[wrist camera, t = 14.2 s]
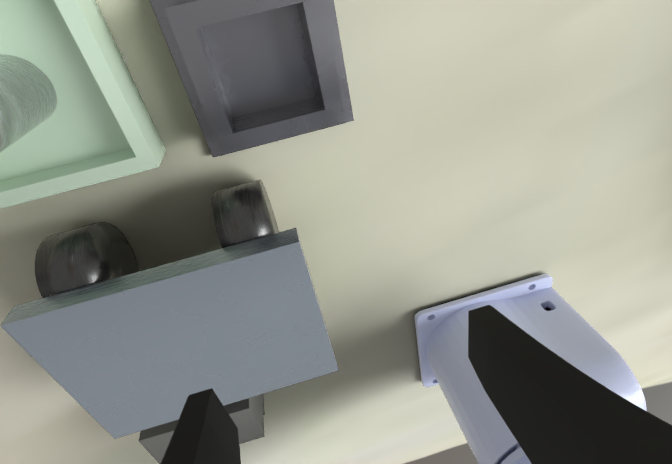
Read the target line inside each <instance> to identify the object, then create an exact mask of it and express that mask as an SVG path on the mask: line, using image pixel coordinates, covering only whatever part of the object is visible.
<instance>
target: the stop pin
mask: <svg viewBox="0 0 672 464" xmlns="http://www.w3.org/2000/svg"><path fill="white" fill-rule="evenodd" d="M56 105H57V96H56V92H55V89H54V86H53V85H52V83H51V81H50V80H49V78H48V77H47V76H46V75H45V73H44V72H43V71H41V70H40V69H39V68H38V67H37V66H35V65H34V64H32V63H31V62H29V61H27V60H25V59H22V58H20V57H17V56H12V55H0V152H2V151H3V150H5V149H6V148H7V147H9V146H10V145H12V144H13V143H14V142H16V141H17V140H19V139H20V138H21V137H23V136H24V135H26V134H27V133H28V132H30V131H31V130H32V129H34V128H35V127H37V126H38V125H39V124H41V123H42V122H44V121H45V120H46V119H48V118H49V117H50V116H51V115H52V114H53V112H54V111H55V108H56Z"/></svg>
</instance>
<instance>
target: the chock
mask: <svg viewBox="0 0 672 464" xmlns="http://www.w3.org/2000/svg"><path fill="white" fill-rule="evenodd" d="M224 408H225V409H226V411H227V412H228V414H229V415H230V417H231V419H232V420H233V422H234V423H235V425H236V426H237V428H238V436H239V444H241V443H244V442H248V441H251V440H254V439H258V438H261V437H264V422H263V415H264V398H263V394H260V395H257V396H254V397H250V398H247V399H244V400H240V401H237V402H234V403H231V404H227V405H224ZM178 420H179V419H178ZM178 420H175V421H172V422H168V423H165V424H162V425H158V426H155V427H152V428H149V429H145V430H142V431H141V433H140V438H139V442H140V443H141V444H142V445H143V446H144V447H145V448H146V450H147V451H148V452H149V453H150V454H151V455H152V456H153V457H154V458H155V459H156V461H157V462H158V463H159V464H160V463H161V461H162V459H163V457H164V454H165V452H166V449H167V447H168V445H169V442H170V440H171V437H172V435H173V432H174V430H175V428H176V425H177V423H178Z"/></svg>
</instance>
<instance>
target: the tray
mask: <svg viewBox="0 0 672 464" xmlns="http://www.w3.org/2000/svg"><path fill="white" fill-rule="evenodd" d="M0 55H12V56H17V57H20V58H22V59H25V60H27V61H29V62H31V63H32V64H34V65H35V66H37V67H38V68H39V69H40V70H41V71H43V72H44V73H45V75H46V76H47V77H48V78H49V80H50V81H51V83H52V85H53V86H54V89H55V92H56V96H57V105H56V108H55V111H54V112H53V114H52V115H51V116H50V117H49V118H48V119H46V120H45V121H44V122H42V123H41V124H39V125H38V126H37V127H35V128H34V129H32V130H31V131H30V132H28V133H27V134H26V135H24V136H23V137H21V138H20V139H19V140H17V141H16V142H14V143H13V144H12V145H10V146H9V147H7V148H6V149H5V150H3V151H2V152H0V209H2V208H5V207H9V206H13V205H17V204H21V203H24V202H28V201H32V200H36V199H40V198H44V197H47V196H51V195H55V194H59V193H63V192H66V191H70V190H74V189H78V188H82V187H86V186H89V185H93V184H97V183H101V182H105V181H108V180H112V179H116V178H120V177H124V176H127V175H131V174H135V173H139V172H143V171H147V170H150V169H154V168H158V167H159V166H160V164H161V161H162V159H163V157H164V154H165V152H166V149H165V147H164V145H163V143H162V141H161V139H160V137H159V135H158V132H157V130H156V128H155V126H154V124H153V122H152V120H151V118H150V116H149V113H148V111H147V109H146V107H145V105H144V103H143V101H142V99H141V97H140V94H139V92H138V90H137V88H136V86H135V84H134V82H133V80H132V77H131V75H130V73H129V71H128V69H127V67H126V65H125V63H124V61H123V58H122V56H121V54H120V52H119V50H118V48H117V46H116V44H115V41H114V39H113V37H112V35H111V33H110V31H109V29H108V27H107V25H106V22H105V20H104V18H103V16H102V14H101V12H100V10H99V8H98V5H97V3H96V1H95V0H0Z"/></svg>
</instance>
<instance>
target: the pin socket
mask: <svg viewBox="0 0 672 464" xmlns="http://www.w3.org/2000/svg"><path fill="white" fill-rule="evenodd" d="M150 2H151V5H152V7H153V10H154V12H155V15H156V17H157V20H158V22H159V25H160V27H161V30H162V32H163V35H164V37H165V40H166V42H167V45H168V47H169V50H170V52H171V55H172V57H173V60H174V62H175V65H176V67H177V70H178V72H179V74H180V77H181V79H182V82H183V84H184V87H185V89H186V92H187V94H188V97H189V99H190V102H191V104H192V107H193V109H194V112H195V114H196V117H197V119H198V122H199V124H200V127H201V129H202V132H203V134H204V137H205V139H206V142H207V144H208V146H209V149H210V151H211V154H212V156H213V157H216V156H220V155H225V154H229V153H233V152H236V151H240V150H244V149H248V148H252V147H255V146H259V145H263V144H267V143H271V142H274V141H278V140H282V139H286V138H290V137H293V136H297V135H301V134H305V133H309V132H312V131H316V130H320V129H324V128H328V127H332V126H335V125H339V124H343V123H346V122H349V121H353V120H354V119H353V113H352V107H351V101H350V95H349V89H348V83H347V78H346V72H345V66H344V60H343V54H342V48H341V42H340V36H339V30H338V24H337V18H336V12H335V6H334V0H150Z"/></svg>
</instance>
